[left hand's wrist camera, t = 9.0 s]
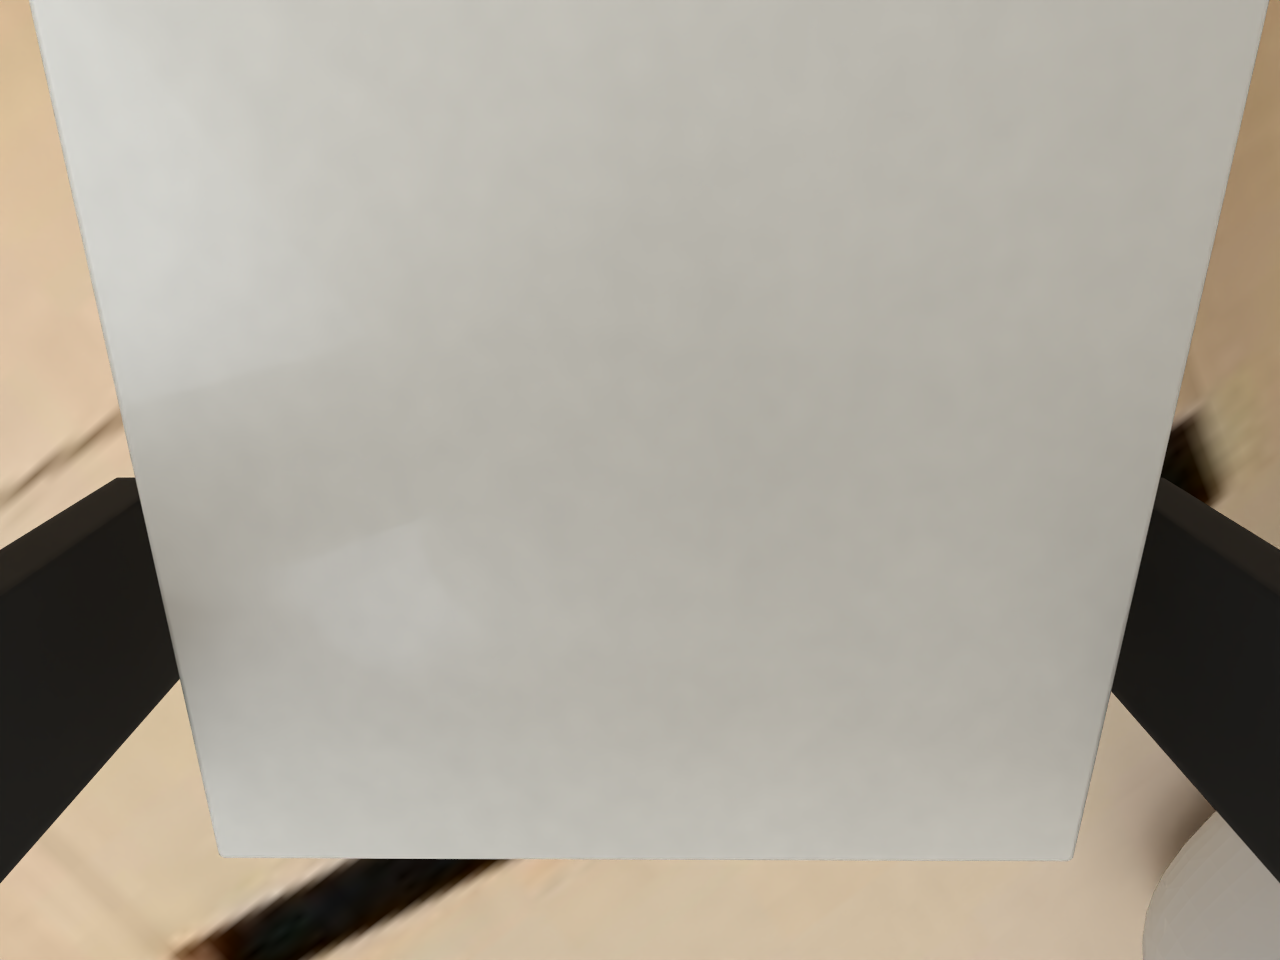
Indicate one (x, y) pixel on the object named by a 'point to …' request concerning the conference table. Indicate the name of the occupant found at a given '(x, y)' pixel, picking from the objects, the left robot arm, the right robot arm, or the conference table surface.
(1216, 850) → the projector
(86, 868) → the conference table surface
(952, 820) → the cabinet
